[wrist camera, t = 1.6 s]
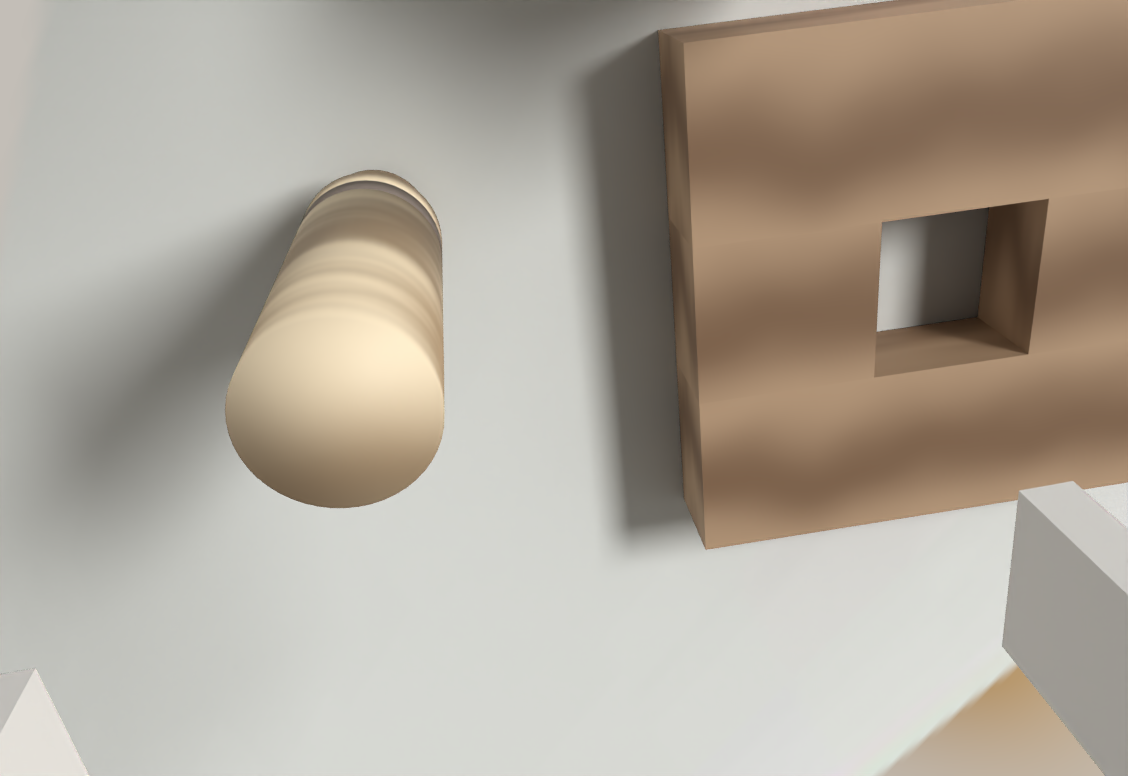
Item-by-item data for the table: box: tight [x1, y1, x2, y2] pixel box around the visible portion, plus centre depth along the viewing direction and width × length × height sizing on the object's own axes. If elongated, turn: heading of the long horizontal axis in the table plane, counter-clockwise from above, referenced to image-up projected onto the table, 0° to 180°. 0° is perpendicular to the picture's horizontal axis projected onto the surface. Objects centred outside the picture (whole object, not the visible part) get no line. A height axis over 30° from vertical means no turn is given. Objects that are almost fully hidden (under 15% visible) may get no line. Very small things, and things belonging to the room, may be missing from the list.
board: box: [658, 0, 1128, 550], centre depth 33 cm, size 18×18×4 cm
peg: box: [225, 170, 444, 508], centre depth 26 cm, size 4×4×14 cm
